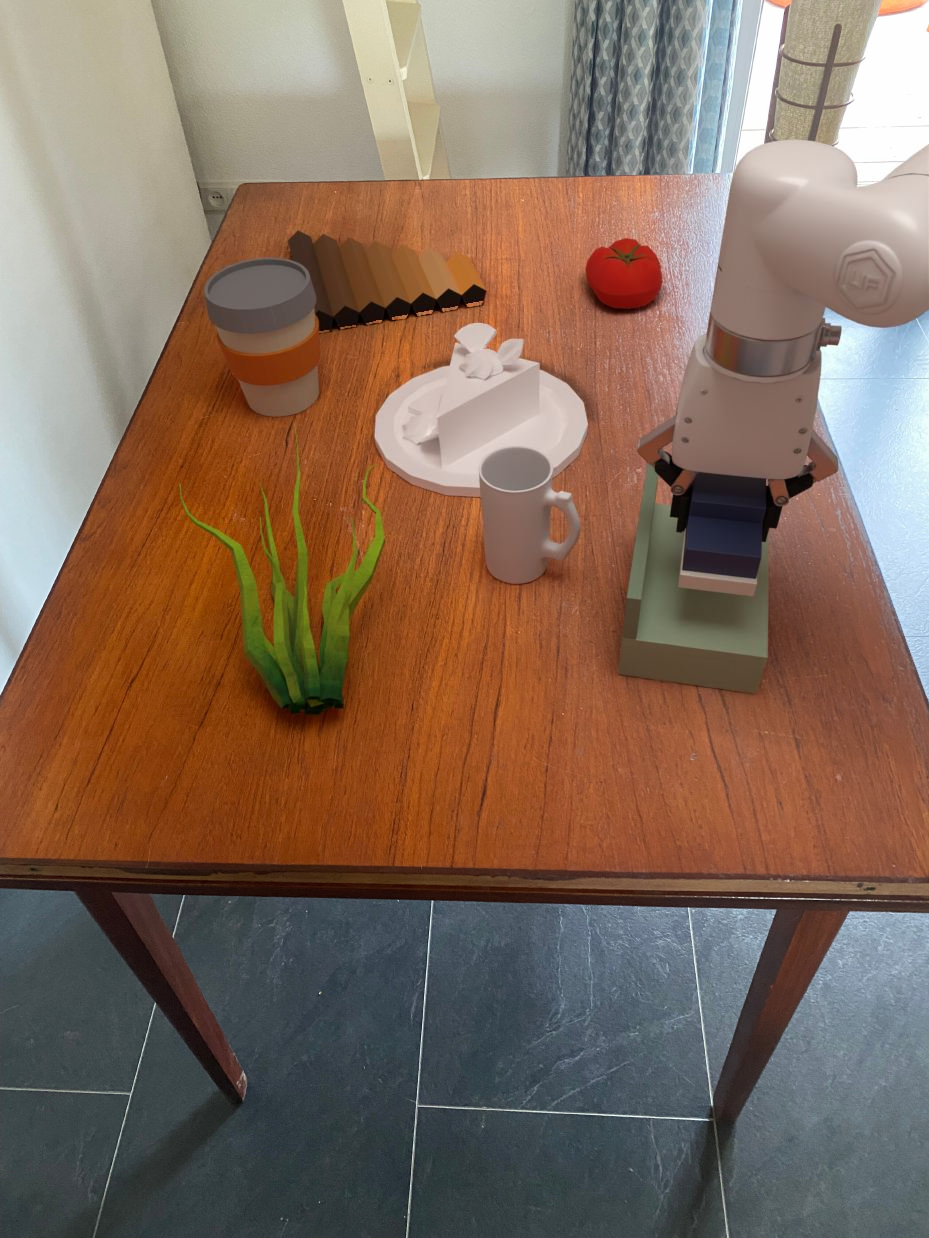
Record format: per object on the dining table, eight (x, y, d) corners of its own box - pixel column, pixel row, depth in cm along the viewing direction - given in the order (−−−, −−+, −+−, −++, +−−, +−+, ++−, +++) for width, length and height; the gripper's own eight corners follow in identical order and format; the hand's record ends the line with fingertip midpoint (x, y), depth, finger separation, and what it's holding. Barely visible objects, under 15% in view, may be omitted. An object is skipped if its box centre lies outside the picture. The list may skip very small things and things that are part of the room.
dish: (439, 354, 118) (432, 271, 110) (619, 398, 109) (626, 312, 101) (334, 460, 104) (317, 375, 96) (531, 521, 95) (531, 433, 87)
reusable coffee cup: (278, 358, 120) (253, 248, 108) (353, 384, 115) (334, 271, 103) (212, 407, 113) (178, 294, 102) (289, 436, 108) (261, 321, 97)
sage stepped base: (759, 553, 90) (779, 474, 83) (756, 694, 79) (780, 616, 71) (638, 539, 93) (647, 461, 85) (617, 674, 81) (626, 597, 74)
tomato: (602, 322, 121) (605, 275, 117) (577, 283, 129) (579, 238, 124) (671, 310, 123) (676, 263, 118) (642, 273, 130) (646, 228, 125)
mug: (470, 572, 91) (464, 477, 82) (504, 532, 94) (501, 437, 86) (560, 607, 87) (564, 512, 78) (591, 564, 91) (598, 469, 82)
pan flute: (290, 253, 140) (309, 335, 123) (286, 232, 137) (305, 312, 121) (447, 228, 143) (487, 304, 126) (446, 207, 140) (486, 281, 124)
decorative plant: (421, 511, 98) (408, 394, 87) (344, 736, 78) (315, 621, 67) (263, 497, 100) (232, 381, 90) (151, 709, 81) (94, 595, 70)
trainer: (689, 480, 83) (697, 430, 79) (756, 486, 82) (768, 437, 78) (677, 587, 74) (686, 538, 70) (753, 596, 73) (766, 547, 69)
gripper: (886, 318, 65) (825, 509, 78) (643, 302, 68) (624, 488, 82) (894, 376, 60) (828, 569, 73) (632, 355, 63) (614, 544, 77)
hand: (721, 525), depth 77 cm, fingers closed on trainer, 6 cm apart
